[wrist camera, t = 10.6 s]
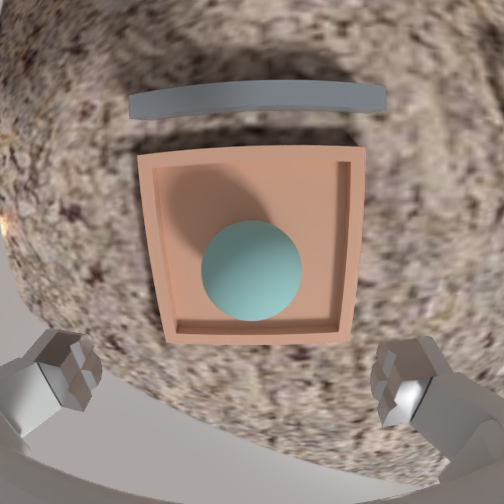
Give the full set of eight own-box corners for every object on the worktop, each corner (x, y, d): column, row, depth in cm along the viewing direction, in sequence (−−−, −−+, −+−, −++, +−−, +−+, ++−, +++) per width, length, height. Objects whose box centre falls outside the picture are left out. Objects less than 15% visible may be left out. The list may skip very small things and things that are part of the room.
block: (150, 100, 15) (128, 95, 13) (366, 93, 15) (385, 85, 12) (151, 120, 16) (129, 118, 13) (366, 113, 15) (386, 110, 12)
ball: (207, 210, 17) (183, 240, 13) (298, 209, 17) (308, 238, 12) (215, 291, 19) (197, 339, 14) (297, 290, 19) (303, 341, 14)
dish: (145, 153, 16) (137, 155, 15) (358, 146, 16) (365, 147, 15) (171, 332, 21) (166, 342, 20) (345, 330, 20) (349, 341, 19)
